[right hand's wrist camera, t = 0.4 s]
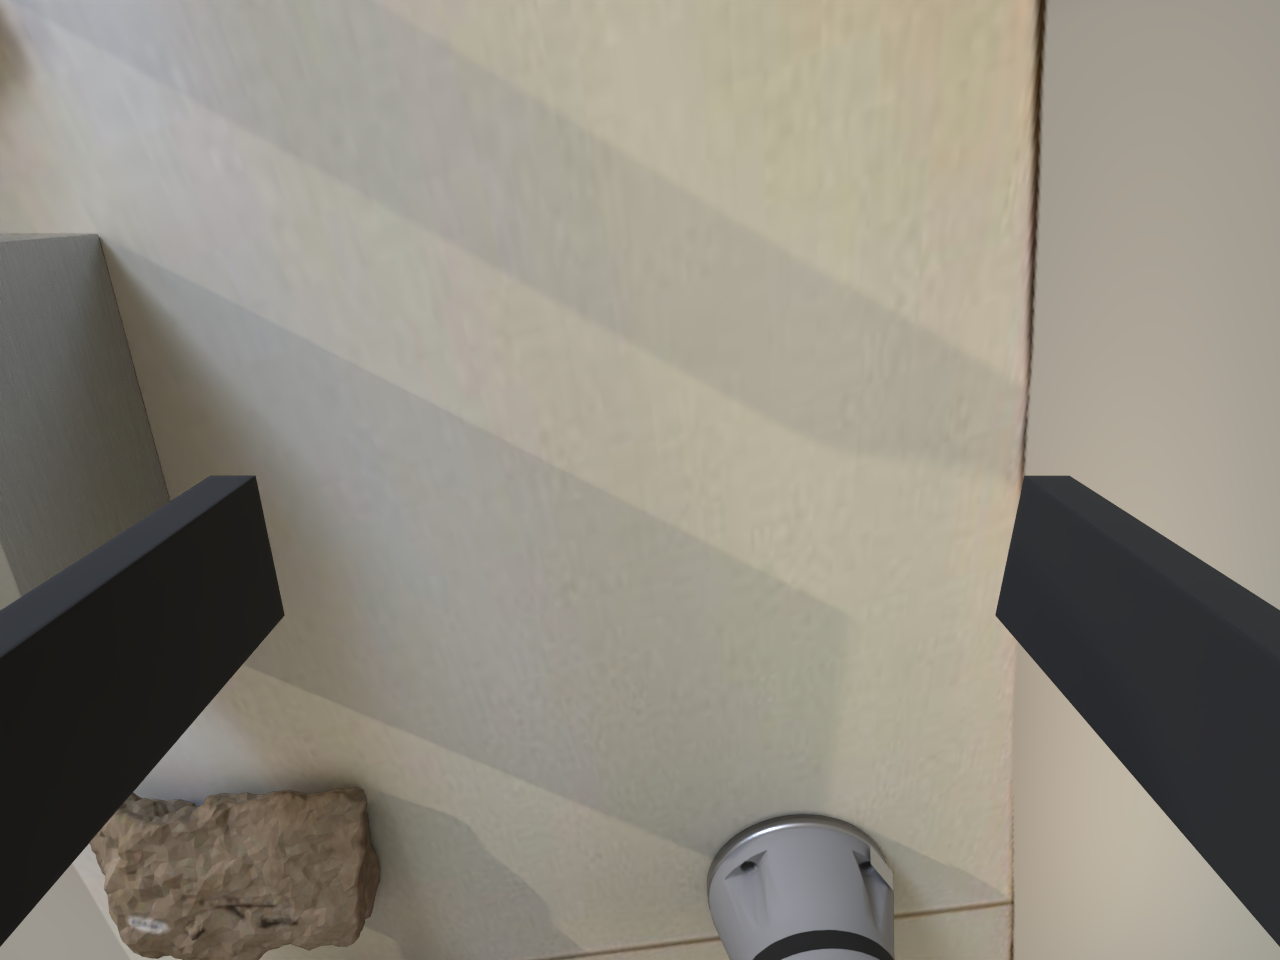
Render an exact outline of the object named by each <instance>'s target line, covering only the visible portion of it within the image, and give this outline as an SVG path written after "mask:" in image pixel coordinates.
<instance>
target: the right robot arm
mask: <svg viewBox="0 0 1280 960" xmlns="http://www.w3.org/2000/svg"><path fill="white" fill-rule="evenodd" d="M283 617H284V610H283V605H282V601H281V596H280V591H279V586H278V581H277V577H276V572H275V567H274V562H273V557H272V553H271V548H270V543H269V538H268V533H267V529H266V524H265V519H264V514H263V509H262V505H261V500H260V495H259V490H258V485H257V481H256V476H209V477H208V478H206V479H205V480H203V481H202V482H200V483H199V484H197V485H195V486H194V487H192V488H191V489H189V490H188V491H186V492H184V493H183V494H181V495H180V496H178V497H177V498H175V499H174V500H172V501H170V502H169V503H167V504H166V505H164V506H163V507H161V508H159V509H158V510H156V511H155V512H153V513H152V514H150V515H149V516H147V517H145V518H144V519H142V520H141V521H139V522H138V523H136V524H134V525H133V526H131V527H130V528H128V529H127V530H125V531H124V532H122V533H120V534H119V535H117V536H116V537H114V538H113V539H111V540H109V541H108V542H106V543H105V544H103V545H102V546H100V547H99V548H97V549H95V550H94V551H92V552H91V553H89V554H88V555H86V556H84V557H83V558H81V559H80V560H78V561H77V562H75V563H74V564H72V565H70V566H69V567H67V568H66V569H64V570H63V571H61V572H59V573H58V574H56V575H55V576H53V577H52V578H50V579H49V580H47V581H45V582H44V583H42V584H41V585H39V586H38V587H36V588H34V589H33V590H31V591H30V592H28V593H27V594H25V595H24V596H22V597H20V598H19V599H17V600H16V601H14V602H13V603H11V604H10V605H8V606H6V607H5V608H3V609H2V610H0V946H1V945H2V944H3V943H4V942H5V940H6V939H7V938H8V937H9V936H10V935H11V934H12V932H13V931H14V930H15V929H16V928H17V927H18V925H19V924H20V923H21V922H22V921H23V920H24V918H25V917H26V916H27V915H28V914H29V913H30V911H31V910H32V909H33V908H34V907H35V906H36V904H37V903H38V902H39V901H40V900H41V899H42V897H43V896H44V895H45V894H46V893H47V892H48V890H49V889H50V888H51V887H52V886H53V885H54V883H55V882H56V881H57V880H58V879H59V878H60V876H61V875H62V874H63V873H64V872H65V871H66V869H67V868H68V867H69V866H70V865H71V864H72V862H73V861H74V860H75V859H76V858H77V857H78V855H79V854H80V853H81V852H82V851H83V850H84V848H85V847H86V846H87V845H88V844H89V843H90V841H91V840H92V839H93V838H94V837H95V836H96V834H97V833H98V832H99V831H100V830H101V829H102V827H103V826H104V825H105V824H106V823H107V822H108V820H109V819H110V818H111V817H112V816H113V815H114V813H115V812H116V811H117V810H118V809H119V808H120V806H121V805H122V804H123V803H124V802H125V801H126V800H127V798H128V797H129V796H130V795H131V794H132V793H133V791H134V790H135V789H136V788H137V787H138V786H139V784H140V783H141V782H142V781H143V780H144V779H145V777H146V776H147V775H148V774H149V773H150V772H151V770H152V769H153V768H154V767H155V766H156V765H157V763H158V762H159V761H160V760H161V759H162V758H163V756H164V755H165V754H166V753H167V752H168V751H169V749H170V748H171V747H172V746H173V745H174V744H175V742H176V741H177V740H178V739H179V738H180V737H181V735H182V734H183V733H184V732H185V731H186V730H187V728H188V727H189V726H190V725H191V724H192V723H193V721H194V720H195V719H196V718H197V717H198V716H199V714H200V713H201V712H202V711H203V710H204V709H205V707H206V706H207V705H208V704H209V703H210V702H211V700H212V699H213V698H214V697H215V696H216V695H217V693H218V692H219V691H220V690H221V689H222V688H223V686H224V685H225V684H226V683H227V682H228V681H229V679H230V678H231V677H232V676H233V675H234V674H235V672H236V671H237V670H238V669H239V668H240V667H241V665H242V664H243V663H244V662H245V661H246V660H247V658H248V657H249V656H250V655H251V654H252V653H253V651H254V650H255V649H256V648H257V647H258V646H259V644H260V643H261V642H262V641H263V640H264V639H265V637H266V636H267V635H268V634H269V633H270V632H271V630H272V629H273V628H274V627H275V626H276V625H277V623H278V622H279V621H280V620H281V619H282V618H283ZM996 617H997V618H998V619H999V620H1000V621H1001V622H1002V623H1003V625H1004V626H1005V627H1006V628H1007V629H1008V630H1009V632H1010V633H1011V634H1012V635H1013V636H1014V637H1015V639H1016V640H1017V641H1018V642H1019V643H1020V644H1021V646H1022V647H1023V648H1024V649H1025V650H1026V651H1027V653H1028V654H1029V655H1030V656H1031V657H1032V658H1033V660H1034V661H1035V662H1036V663H1037V664H1038V665H1039V667H1040V668H1041V669H1042V670H1043V671H1044V672H1045V674H1046V675H1047V676H1048V677H1049V678H1050V679H1051V681H1052V682H1053V683H1054V684H1055V685H1056V686H1057V688H1058V689H1059V690H1060V691H1061V692H1062V693H1063V695H1064V696H1065V697H1066V698H1067V699H1068V700H1069V702H1070V703H1071V704H1072V705H1073V706H1074V707H1075V709H1076V710H1077V711H1078V712H1079V713H1080V714H1081V716H1082V717H1083V718H1084V719H1085V720H1086V721H1087V723H1088V724H1089V725H1090V726H1091V727H1092V728H1093V730H1094V731H1095V732H1096V733H1097V734H1098V735H1099V737H1100V738H1101V739H1102V740H1103V741H1104V742H1105V744H1106V745H1107V746H1108V747H1109V748H1110V749H1111V751H1112V752H1113V753H1114V754H1115V755H1116V756H1117V758H1118V759H1119V760H1120V761H1121V762H1122V763H1123V765H1124V766H1125V767H1126V768H1127V769H1128V770H1129V772H1130V773H1131V774H1132V775H1133V776H1134V777H1135V778H1136V780H1137V781H1138V782H1139V783H1140V784H1141V785H1142V787H1143V788H1144V789H1145V790H1146V791H1147V793H1148V794H1149V795H1150V796H1151V797H1152V798H1153V800H1154V801H1155V802H1156V803H1157V804H1158V805H1159V806H1160V808H1161V809H1162V810H1163V811H1164V812H1165V813H1166V815H1167V816H1168V817H1169V818H1170V819H1171V820H1172V822H1173V823H1174V824H1175V825H1176V826H1177V827H1178V829H1179V830H1180V831H1181V832H1182V833H1183V834H1184V836H1185V837H1186V838H1187V839H1188V840H1189V841H1190V843H1191V844H1192V845H1193V846H1194V847H1195V848H1196V850H1197V851H1198V852H1199V853H1200V854H1201V855H1202V857H1203V858H1204V859H1205V860H1206V861H1207V862H1208V864H1209V865H1210V866H1211V867H1212V868H1213V869H1214V871H1215V872H1216V873H1217V874H1218V875H1219V876H1220V878H1221V879H1222V880H1223V881H1224V882H1225V883H1226V885H1227V886H1228V887H1229V888H1230V889H1231V890H1232V892H1233V893H1234V894H1235V895H1236V896H1237V897H1238V899H1239V900H1240V901H1241V902H1242V903H1243V904H1244V906H1245V907H1246V908H1247V909H1248V910H1249V911H1250V913H1251V914H1252V915H1253V916H1254V917H1255V918H1256V920H1257V921H1258V922H1259V923H1260V924H1261V925H1262V927H1263V928H1264V929H1265V930H1266V931H1267V932H1268V934H1269V935H1270V936H1271V937H1272V938H1273V939H1274V940H1275V942H1276V943H1277V944H1278V945H1279V946H1280V610H1278V609H1277V608H1275V607H1274V606H1272V605H1270V604H1269V603H1267V602H1266V601H1264V600H1263V599H1261V598H1260V597H1258V596H1256V595H1255V594H1253V593H1252V592H1250V591H1249V590H1247V589H1245V588H1244V587H1242V586H1241V585H1239V584H1238V583H1236V582H1235V581H1233V580H1231V579H1230V578H1228V577H1227V576H1225V575H1224V574H1222V573H1220V572H1219V571H1217V570H1216V569H1214V568H1213V567H1211V566H1210V565H1208V564H1206V563H1205V562H1203V561H1202V560H1200V559H1199V558H1197V557H1196V556H1194V555H1192V554H1191V553H1189V552H1188V551H1186V550H1185V549H1183V548H1181V547H1180V546H1178V545H1177V544H1175V543H1174V542H1172V541H1171V540H1169V539H1167V538H1166V537H1164V536H1163V535H1161V534H1160V533H1158V532H1156V531H1155V530H1153V529H1152V528H1150V527H1149V526H1147V525H1146V524H1144V523H1142V522H1141V521H1139V520H1138V519H1136V518H1135V517H1133V516H1131V515H1130V514H1128V513H1127V512H1125V511H1124V510H1122V509H1120V508H1119V507H1117V506H1116V505H1114V504H1113V503H1111V502H1110V501H1108V500H1106V499H1105V498H1103V497H1102V496H1100V495H1099V494H1097V493H1096V492H1094V491H1092V490H1091V489H1089V488H1088V487H1086V486H1085V485H1083V484H1081V483H1080V482H1078V481H1077V480H1075V479H1074V478H1072V477H1071V476H1024V481H1023V485H1022V490H1021V495H1020V500H1019V505H1018V509H1017V514H1016V519H1015V524H1014V529H1013V533H1012V538H1011V543H1010V548H1009V553H1008V557H1007V562H1006V567H1005V572H1004V577H1003V581H1002V586H1001V591H1000V596H999V601H998V605H997V610H996ZM893 891H894V885H893V872H892V871H891V869H890V868H889V867H888V866H887V864H886V862H885V859H884V856H883V854H882V852H881V850H880V849H879V847H878V846H877V844H876V843H875V842H874V841H873V840H872V839H871V838H870V837H869V836H868V835H867V834H866V833H864V832H863V831H862V830H860V829H858V828H857V827H855V826H853V825H851V824H849V823H847V822H844V821H841V820H838V819H835V818H831V817H826V816H819V815H789V816H782V817H777V818H773V819H769V820H766V821H763V822H760V823H758V824H755V825H753V826H751V827H749V828H747V829H745V830H743V831H742V832H740V833H739V834H737V835H736V836H734V837H733V838H732V839H731V840H729V841H728V842H727V843H726V844H725V845H724V846H723V847H722V848H721V850H720V851H719V852H718V854H717V855H716V856H715V858H714V860H713V862H712V864H711V866H710V869H709V873H708V877H707V892H708V902H709V908H710V911H711V916H712V920H713V923H714V925H715V927H716V930H717V932H718V934H719V936H720V939H721V941H722V943H723V945H724V947H725V950H726V952H727V954H728V956H729V958H730V960H895V959H894V895H893Z"/></svg>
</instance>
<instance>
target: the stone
mask: <svg viewBox="0 0 1280 960" xmlns="http://www.w3.org/2000/svg"><path fill="white" fill-rule="evenodd" d="M366 807H367V800H366V796H365V794H364V791H363V790H362V789H361V788H350V789H338V788H337V789H336V790H333V791H325V792H320V793H315V794H306V793H298V792H296V791H290V790H286V791H284V790H283V791H280V792H271V793H269V794H266V795H254V794H250V793H243V794H225V793H223V794H218V795H212V796H208V797H207V798H206V800H205V801H204V803H203V804H202V805H201V806H199V807H196V805H195V803H191V802H188V801H184V800H170V801H163V800H156V799H152V800H150V799H145V798H144V799H142V798H140V797H138V796H137V795H135V794H134V793H132V794H131V795H130V796H129V797H128V798H127V800H126V801H125V802H124V803H123V804H122V805H121V806H120V808H119V809H118V810H117V811H116V812H115V813H114V815H113V816H112V817H111V818H110V819H109V820H108V822H107V823H106V824H105V825H104V826H103V827H102V829H101V830H100V831H99V832H98V833H97V834H96V836H95V837H94V838H93V839H92V840H91V841H90V845H91V848H92V851H93V852H94V853H95V854H96V858H97V862H98V864H99V866H100V868H101V871H102V873H103V874H104V875H105V885H104V890H105V891H106V893H107V895H108V903H109V913H110V915H111V918H112V920H113V921H114V922H115V924H116V925H117V927H118V930H119V934H120V937H121V939H122V941H123V942H124V943H125V944H126V945H127V946H128V947H129V948H130V949H131V950H132V951H133V952H134V953H136V954H139V955H141V956H143V957H148V958H156V959H158V958H160V957H162V956H172V957H174V958H177V959H182V960H259V959H260V958H261V957H262V955H263V954H264V953H265V952H267V951H268V950H272V949H276V948H279V947H282V946H284V945H287V944H292V945H295V946H298V947H302V948H304V949H307V950H311V949H314V948H316V947H319V946H323V945H335V946H343V947H347V946H349V945H351V944H353V943H354V942H355V941H356V940H357V939H358V937H359V935H360V931H362V929H363V926H364V923H365V919H367V918H369V917H370V916H371V913H372V910H373V904H374V900H375V895H376V891H377V888H378V884H379V882H380V868H379V861H378V859H377V855H376V853H375V851H374V849H373V848H372V846H371V844H370V830H369V821H368V814H367V811H366Z"/></svg>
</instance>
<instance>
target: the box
mask: <svg viewBox="0 0 1280 960" xmlns="http://www.w3.org/2000/svg"><path fill="white" fill-rule="evenodd" d="M169 502H170V501H169V497H168V493H167V489H166V486H165V482H164V478H163V475H162V471H161V467H160V463H159V460H158V456H157V452H156V448H155V445H154V441H153V437H152V434H151V430H150V426H149V422H148V419H147V415H146V411H145V407H144V404H143V400H142V396H141V393H140V389H139V385H138V381H137V378H136V374H135V370H134V367H133V363H132V359H131V355H130V352H129V348H128V344H127V340H126V337H125V333H124V329H123V326H122V322H121V318H120V314H119V311H118V307H117V303H116V300H115V296H114V292H113V288H112V285H111V281H110V277H109V273H108V270H107V266H106V262H105V259H104V255H103V251H102V247H101V244H100V240H99V236H98V234H0V610H2V609H3V608H5V607H6V606H8V605H10V604H11V603H13V602H14V601H16V600H17V599H19V598H20V597H22V596H24V595H25V594H27V593H28V592H30V591H31V590H33V589H34V588H36V587H38V586H39V585H41V584H42V583H44V582H45V581H47V580H49V579H50V578H52V577H53V576H55V575H56V574H58V573H59V572H61V571H63V570H64V569H66V568H67V567H69V566H70V565H72V564H74V563H75V562H77V561H78V560H80V559H81V558H83V557H84V556H86V555H88V554H89V553H91V552H92V551H94V550H95V549H97V548H99V547H100V546H102V545H103V544H105V543H106V542H108V541H109V540H111V539H113V538H114V537H116V536H117V535H119V534H120V533H122V532H124V531H125V530H127V529H128V528H130V527H131V526H133V525H134V524H136V523H138V522H139V521H141V520H142V519H144V518H145V517H147V516H149V515H150V514H152V513H153V512H155V511H156V510H158V509H159V508H161V507H163V506H164V505H166V504H167V503H169Z"/></svg>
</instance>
